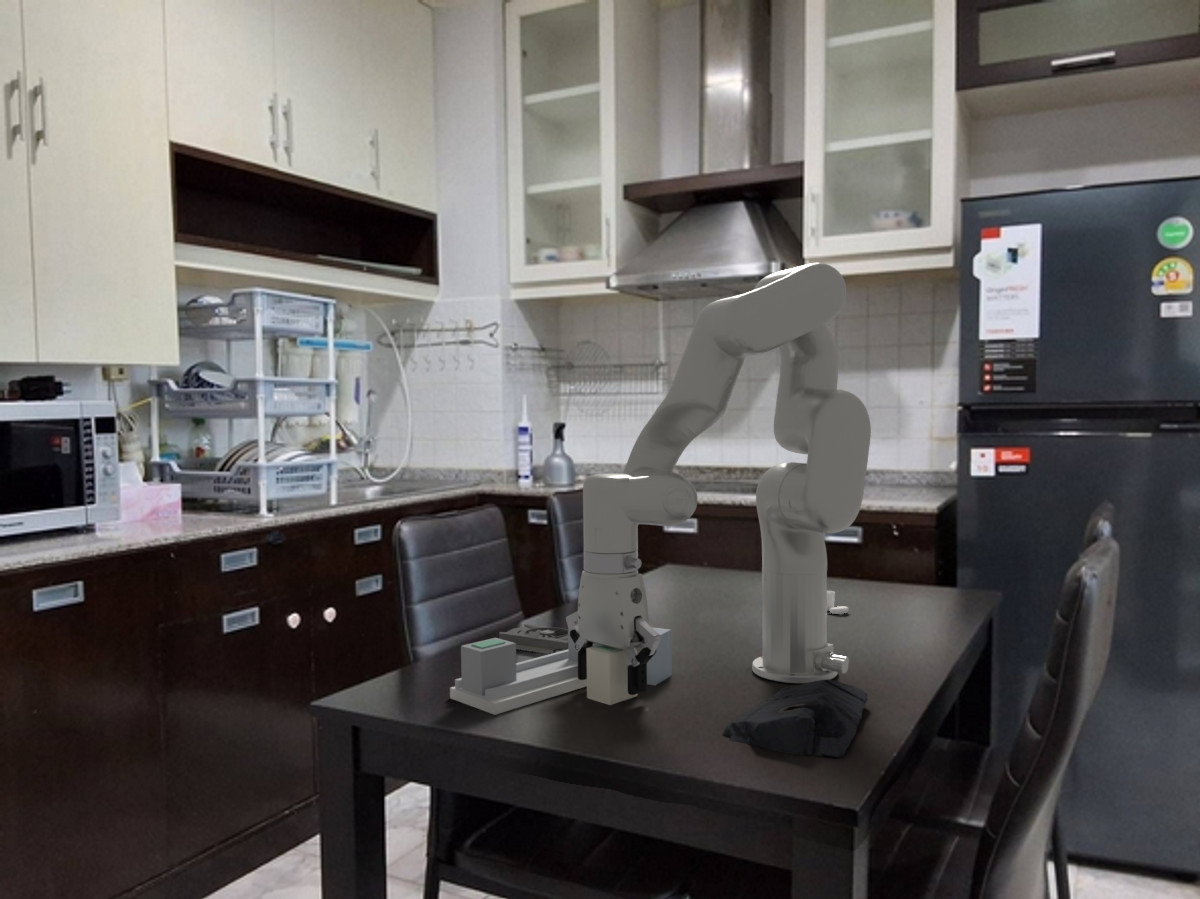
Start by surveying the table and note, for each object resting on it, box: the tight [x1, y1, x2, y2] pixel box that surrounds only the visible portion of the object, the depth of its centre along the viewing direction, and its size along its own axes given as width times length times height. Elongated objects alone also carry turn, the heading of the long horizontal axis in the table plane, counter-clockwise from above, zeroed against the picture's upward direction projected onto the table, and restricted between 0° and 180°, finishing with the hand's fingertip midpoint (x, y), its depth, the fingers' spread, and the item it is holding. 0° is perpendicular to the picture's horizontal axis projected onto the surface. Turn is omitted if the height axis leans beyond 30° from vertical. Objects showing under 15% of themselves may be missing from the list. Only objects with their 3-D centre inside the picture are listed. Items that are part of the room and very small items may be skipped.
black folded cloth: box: [722, 679, 869, 758], centre depth 116 cm, size 15×22×5 cm
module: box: [637, 626, 673, 686], centre depth 135 cm, size 4×6×7 cm
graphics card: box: [498, 623, 568, 657], centre depth 155 cm, size 17×4×12 cm
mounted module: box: [460, 637, 517, 696], centre depth 126 cm, size 4×6×6 cm
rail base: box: [449, 650, 587, 716], centre depth 133 cm, size 10×26×3 cm, turn 135°
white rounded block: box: [827, 589, 850, 615], centre depth 178 cm, size 9×8×4 cm
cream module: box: [586, 645, 639, 706], centre depth 127 cm, size 4×6×7 cm
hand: (611, 685), depth 127 cm, fingers open, 9 cm apart
